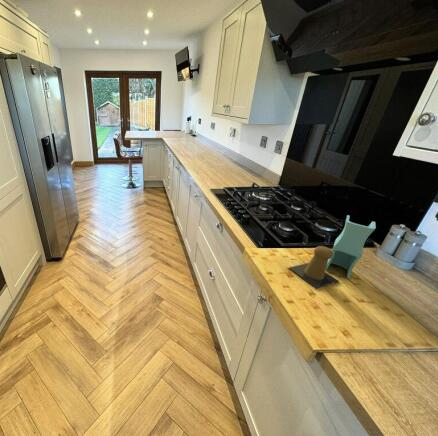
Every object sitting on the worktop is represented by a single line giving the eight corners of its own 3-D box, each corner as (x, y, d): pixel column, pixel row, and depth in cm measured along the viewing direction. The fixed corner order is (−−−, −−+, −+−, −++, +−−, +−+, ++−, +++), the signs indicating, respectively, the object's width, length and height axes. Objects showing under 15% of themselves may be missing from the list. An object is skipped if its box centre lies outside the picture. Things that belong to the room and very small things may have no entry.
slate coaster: (309, 263, 91) (310, 262, 91) (338, 282, 82) (339, 280, 82) (288, 268, 88) (289, 267, 88) (315, 288, 79) (316, 287, 78)
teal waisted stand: (351, 268, 89) (375, 222, 80) (349, 278, 84) (375, 229, 75) (326, 259, 94) (347, 214, 85) (323, 268, 88) (345, 221, 80)
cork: (327, 278, 83) (340, 252, 78) (314, 280, 81) (326, 254, 76) (312, 267, 88) (323, 242, 83) (300, 270, 86) (310, 244, 81)
